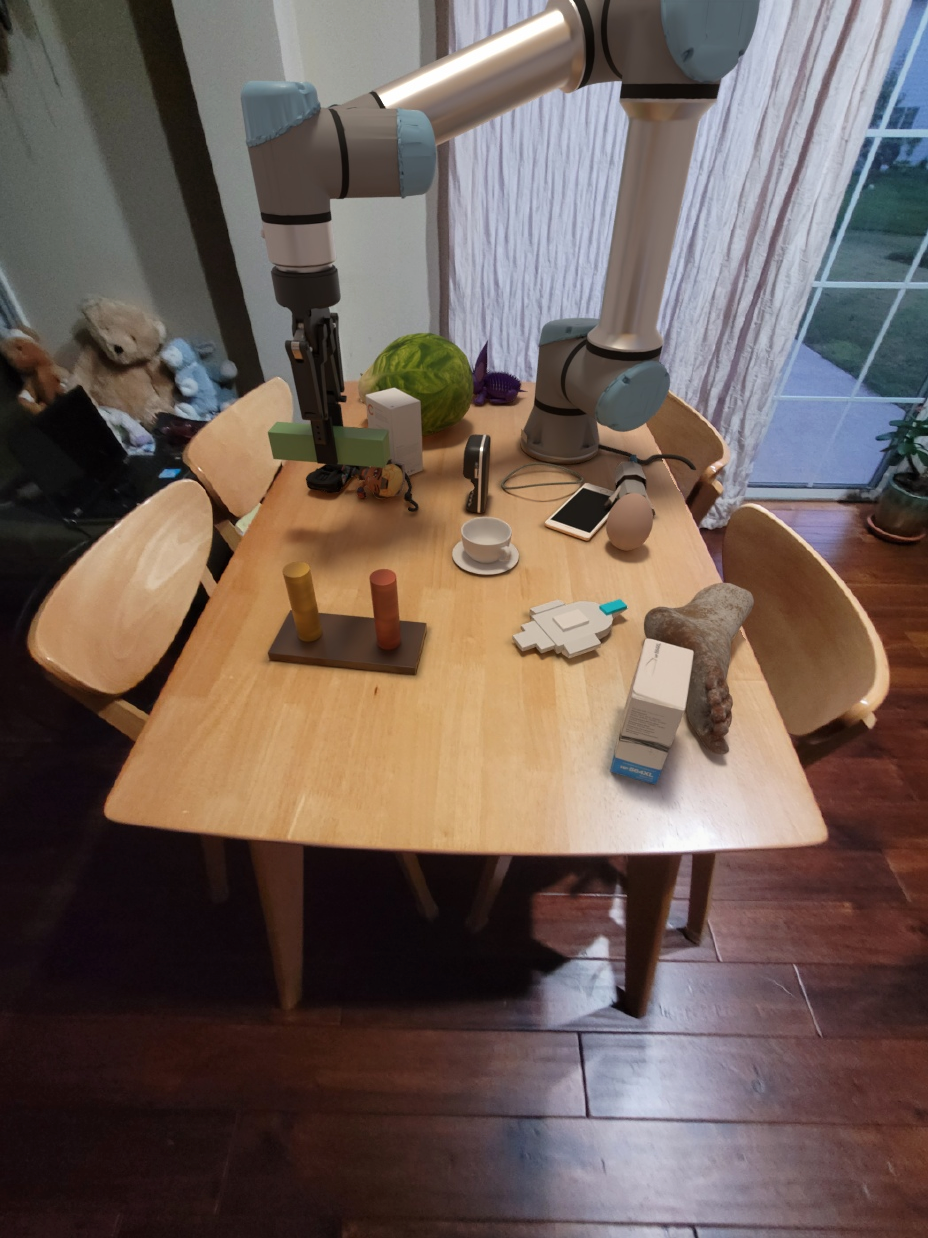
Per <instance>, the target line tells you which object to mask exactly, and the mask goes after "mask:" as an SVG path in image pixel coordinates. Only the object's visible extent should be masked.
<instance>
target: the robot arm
mask: <svg viewBox="0 0 928 1238" xmlns="http://www.w3.org/2000/svg"><path fill="white" fill-rule="evenodd" d="M760 1H761V0H547V2H546V4H545V8H544V10H542V11H540V12H538V13H536V14H534V15H531V16H529V17H527V18H525V19H523V20H521V21H518V22H516V23H514V24H512V25H510V26H508V27H506V28H504V29H501V30H499V31H497V32H495V33H492V34H491V35H489V36H486V37H484V38H482V39H480V40H478V41H475V42H473V43H471V44H469V45H467V46H464V47H463V48H460V49H458V50H456V51H454V52H452V53H450V54H448V55H445V56H443V57H441V58H439V59H436V60H435V61H432V62H429V63H428V64H426V65H424V66H421V67H419V68H417V69H415V70H413V71H411V72H408V73H406V74H404V75H402V76H399V77H398V78H395V79H393V80H391V81H389V82H387V83H384V84H383V85H380V86H378V87H376V88H374V89H372V90H371V91H369V92H367V93H364V94H362V95H359V96H357V97H354V98H352V99H350V100H348V101H346V102H344V103H342V104H337V103H333V104H330V105H328V106H326V107H322V106H321V102H320V100H319V98H318V92H317V89H316V87H315V85H314V84H313V83H312V82H309V81H290V80H289V81H287V80H249V81H247V82H245V83H244V84H243V86H242V87H241V88H242V89H241V91H240V103H241V109H242V117H243V123H244V124H243V125H244V131H245V141H244V142H245V145H246V147H247V151H248V155H249V156H248V158H249V162H250V169H251V172H252V178H253V183H254V189H255V193H256V198H257V203H258V208H259V212H260V213H259V214H260V219H261V224H262V228H261V230H260V236H261V237H262V239H264V240H265V246H266V251H267V257H268V261H269V262H270V263H271V264H272V265H274V266H273V267H272V269H271V270H270V275H271V280H272V281H271V282H272V288H273V291H274V297H275V301H276V303H277V304H278V305H279V306H280V307H283V308H286V309H288V311H290V312H291V334H292V340H290V339H289V340H288V339H285V341H284V349H285V352H286V354H287V357H288V360H289V362H290V367H291V372H292V377H293V382H294V386H295V391H296V392H295V393H296V397H297V401H298V406H299V411H300V416H301V419H302V421H309V422H310V424H311V428H312V434H313V440H314V446H315V452H316V458H317V462H316V463H317V464H320V465H325V464H331V465H337V463H338V459H337V452H336V445H335V438H334V431H333V426H343V427H345V426H344V419H343V412H342V404H341V403H345V404H346V403H347V400H348V397H347V396H348V395H346V394H344V395H343V393H344V392H345V389H346V387H345V379H344V371H343V369H344V368H343V362H342V361H343V359H342V352H341V351H342V350H341V341H340V321H339V320H340V316H339V313H338V312H331V311H330V308H331V307H333V306H336V305H337V304H339V302H340V301H341V299H342V298H341V297H342V295H341V289H340V288H341V287H340V278H339V269H338V267H336V265H334V264H333V263H334V262H335V261H336V260H337V258H338V257H337V249H336V241H335V240H336V239H335V234H334V233H335V231H334V225H333V218H332V210H331V200H344V199H369V198H370V199H371V198H401V199H402V200H403V199H405V198H407V197H413V196H422V195H425V194H427V193H428V192H429V191H430V189H431V188H432V186H433V183H434V181H435V176H436V170H437V147H438V146H439V145H442V144H444V143H446V142H448V141H450V140H452V139H454V138H457V137H458V136H461V135H463V134H465V133H467V132H469V131H471V130H473V129H476V128H477V127H479V126H482V125H484V124H487V123H488V122H490V121H493V120H494V119H497V118H498V117H501V116H503V115H505V114H507V113H509V112H512V111H513V110H516V109H518V108H520V107H522V106H524V105H526V104H528V103H531V102H532V101H535V100H537V99H539V98H540V97H543V96H546V95H547V94H549V93H552V92H554V91H556V90H559V91H561V92H562V93H564V94H571V93H572V94H573V93H574V92H576V91H578V90H580V89H583V88H585V87H587V86H591V85H596V84H603V83H604V84H605V83H613V82H621V84H620V85H621V86H620V92H619V100H618V102H619V104H620V106H621V107H622V109H623V111H624V113H625V114H626V116H627V120H628V121H627V131H626V138H625V143H624V152H623V158H622V164H621V172H620V178H619V185H618V190H617V191H618V192H617V199H616V205H615V212H614V213H615V214H614V218H613V219H614V220H613V226H612V233H611V239H610V247H609V253H608V260H607V267H606V273H605V280H604V287H603V294H602V300H601V306H600V316H599V318H593V317H567V318H565V317H564V318H558V319H553V320H550V321H548V322H547V323H545V324H544V325H543V326H542V328H541V332H540V335H539V336H540V337H539V343H538V344H537V345H538V356H537V364H536V365H537V366H536V378H535V387H534V388H535V389H534V399H533V405H532V409H531V411H530V413H529V416H528V418H527V420H526V423H525V425H524V428H523V429H522V428H520V448H521V449H522V451H523V452H524V453H526V454H527V456H529V457H532V458H534V459H535V460H538V461H541V462H544V463H548V464H555V465H573V464H575V465H576V464H580V463H584V462H587V461H589V460H592V459H593V458H595V457H596V456H597V454H598V452H599V450H602V451H606V452H609V453H612V454H616V455H621V456H623V457H624V456H625V457H626V458H629V459H630V456H631V455H633V454H634V453H631V452H628V451H625V450H622V449H618V448H615V447H611V446H607V445H604V444H600V434H599V426H598V424H599V425H601V426H603V427H607V428H609V429H610V430H612V431H614V432H619V433H625V432H626V433H627V432H630V431H634V430H637V429H638V428H640V427H642V426H644V425H645V424H646V423H648V422H649V421H650V419H651V418H652V417H654V416H656V415H657V413H658V412H659V410H660V409H661V408H662V406H663V405H664V403H665V401H666V399H667V397H668V394H669V391H670V386H671V375H670V373H669V372H668V368H667V367H666V366H665V364H662V362H660V360H661V355H662V350H663V346H664V337H663V336H662V334H661V333H660V332H659V330H658V328H657V325H658V321H659V316H660V311H661V306H662V301H663V296H664V292H665V287H666V282H667V279H668V273H669V268H670V264H671V260H672V259H671V258H672V254H673V249H674V245H675V239H676V234H677V228H678V225H679V221H680V215H681V210H682V206H683V201H684V197H685V191H686V186H687V182H688V177H689V172H690V168H691V162H692V157H693V153H694V149H695V143H696V138H697V135H698V129H699V124H700V121H701V119H702V118H703V116H704V115H705V114H706V113H707V112H708V111H710V110H711V108H712V107H713V106H714V105H715V104H716V103H717V101H718V96H719V92H720V88H721V83H722V79H723V78H725V77H726V76H727V75H728V74H729V73H731V71H733V70H734V69H735V68H736V67H737V65H738V64H739V62H740V61H739V59H740V58H741V57H743V56H745V53H746V51H747V50H748V48H749V46H750V43H751V42H752V38H753V36H754V34H755V33H754V32H755V29H756V26H757V21H758V16H759V10H760ZM654 460H674V461H675V460H676V461H680V462H682V463H684V464H685V465H687V467H689V469H690V470H692V471H697V467H696V466H695V464H694V463H693V462H692V461H690V460H689V459H688V458H686V457H684V456H681V455H679V454H672V453H671V454H669V453H668V454H667V453H662V454H661V453H660V454H658V453H657V454H652V455H650V457H648V458H646V459H641V458H639V457H637V464H639V465H649V464H651V463H652V462H653V461H654Z"/></svg>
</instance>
